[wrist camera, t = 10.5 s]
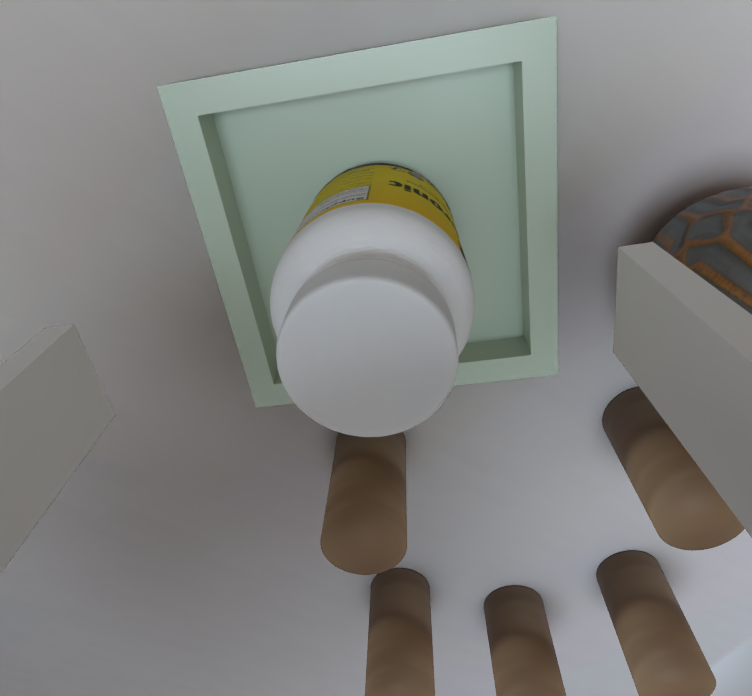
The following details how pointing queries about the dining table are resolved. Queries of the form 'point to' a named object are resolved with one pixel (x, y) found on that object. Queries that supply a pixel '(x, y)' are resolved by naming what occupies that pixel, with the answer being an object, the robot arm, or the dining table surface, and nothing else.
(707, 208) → the vase
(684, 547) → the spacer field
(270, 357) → the tray
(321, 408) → the supplement bottle
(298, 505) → the dining table surface
